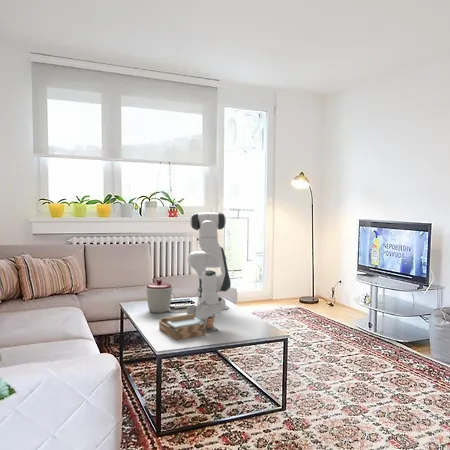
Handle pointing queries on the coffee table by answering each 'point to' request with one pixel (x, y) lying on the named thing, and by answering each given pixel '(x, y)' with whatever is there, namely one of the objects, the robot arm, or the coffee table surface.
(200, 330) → the cold frame
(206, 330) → the tile
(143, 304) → the coffee table surface
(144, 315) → the coffee table surface
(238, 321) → the coffee table surface
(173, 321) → the lid
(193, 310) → the teacup
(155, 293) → the canister
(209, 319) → the pot
